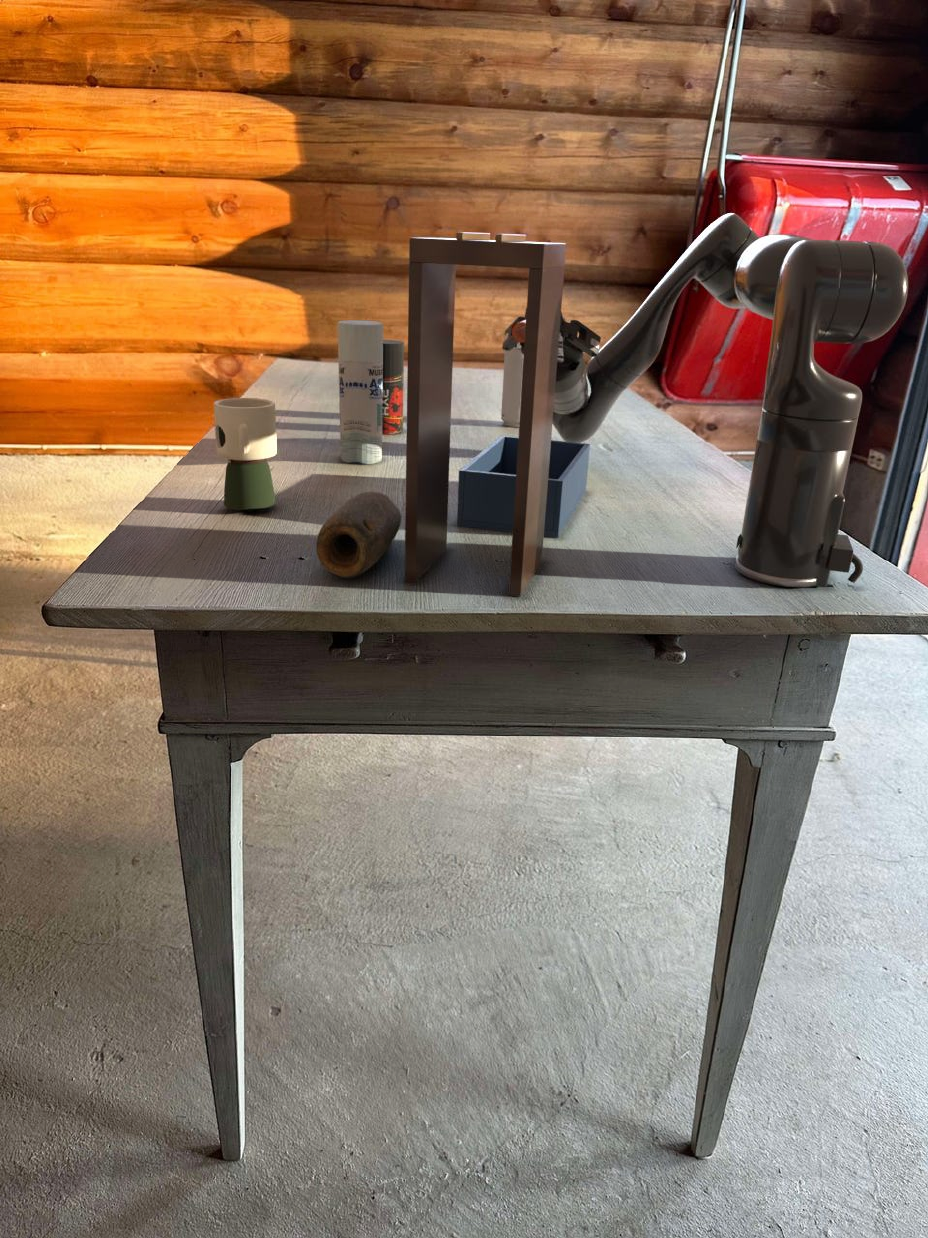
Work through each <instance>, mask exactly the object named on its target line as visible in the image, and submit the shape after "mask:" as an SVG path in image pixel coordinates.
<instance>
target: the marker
mask: <svg viewBox="0 0 928 1238" xmlns="http://www.w3.org/2000/svg"><path fill="white" fill-rule="evenodd" d="M525 329H526V320H524V321H522V322H519V323H517V324H516V325H515V326H514V327H513V329H512V335H513V338H514V339H515V340H516V341H517V342H520V343H523V342H525Z"/></svg>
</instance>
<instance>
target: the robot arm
mask: <svg viewBox="0 0 928 1238" xmlns="http://www.w3.org/2000/svg"><path fill="white" fill-rule="evenodd" d="M693 279H695V280H697V282H699V284H700V285H702V287H703V288H704V289H705V290H706V291H707V292H708V293H709V294H710V295H711V296H712V297H713V298H715V300H716V301H718V302H719V303H720V304H721V305H723V306H725V307H727V308H728V309H735V310H747V311H750V312H752V313H754V314H756V315H758V316H760V317H763V318H766V319H769V320H772V327H771V336H770V345H769V351H768V358H767V364H766V371H765V373H766V374H765V381H764V382H765V384H764V394H763V401H762V408H761V413H760V419H759V423H758V426H759V427H758V431H757V437H756V441H755V442H756V443H755V448H754V453H753V454H754V455H753V461H752V467H751V473H750V479H749V485H748V490H747V497H746V503H745V509H744V515H743V522H742V527H741V533H740V534H739V536H738V537H737V540H736V547H735V549H737V555H736V558H735V564H734V568H735V570H736V571H737V572H738V573H739V574H741V575H742V576H745V577H746V578H749V579H751V580H754V581H756V582H760V583H763V584H768V585H773V586H779V587H787V588H789V587H790V588H807V587H825V588H826V587H828V583H829V578H830V574H831V571H832V572H839V573H848V574H849V573H850V570H851V565H852V564H853V565H854V570H853V572H852V573H851V574H850V575H849V577H848V578H847V581H848V582H850V583H853V584H855V583H856V582H857V580H858V579H859V578H861V576H862V573H863V571H864V565H863V561H862V560H861V559H860V557H858V556H857V555H856V554H855V553H854V552H855V551H854V548H853V545H852V543H851V541H850V538H849V535H847V534H841V533H840V534H839V531H840V527H841V522H842V517H843V512H844V507H845V502H846V498H845V495H844V493H843V492H844V489H845V484H846V479H847V474H848V470H849V465H850V460H851V459H850V458H851V454H852V449H853V445H854V441H855V435H856V432H857V425H858V420H859V416H860V412H861V406H862V403H863V392H862V390H861V389H860V387H859V386H857V385H856V384H854V383H852V382H850V381H847V380H845V379H843V378H839V377H838V376H835V375H833V374H831V373H829V371H826V370H825V369H824V368H823V367H821V365H819V364H818V363H817V361H816V360H815V356H814V355H815V343H827V344H828V343H829V344H847V345H848V344H849V345H850V344H851V345H853V344H854V345H857V344H858V345H859V344H864V343H868V342H873V341H875V340H878V339H879V338H880V337H882V336H884V335H885V334H886V333H888V332H889V331H890V330H891V328H892V327H893V326H894V325H895V324H896V323H897V321H898V320H899V318H900V316H901V314H902V312H903V310H904V308H905V306H906V302H907V298H908V292H909V291H908V290H909V278H908V272H907V269H906V266H905V263H904V260H903V259H902V257H901V255H900V254H899V253H898V252H897V251H896V250H895V249H894V248H893V247H891V246H889V245H887V244H884V243H881V242H876V241H863V240H861V241H858V240H841V239H840V240H837V239H836V240H835V239H812V238H808V237H805V236H801V235H795V234H789V233H788V234H787V233H774V234H769V235H765V236H763V237H760V236H759V235H758V234H757V233H756V232H755V231H754V230H753V229H752V228H751V227H750V225H748V223H747V222H745V220H744V219H743V218H741V216H739V215H738V214H737V213H734V212H733V213H732V212H730V213H726V214H723V215H722V216H720V217H718V218H717V219H716V220H715V221H713V222H712V223H710V225H708V226H707V227H706V228H705V229H704V230H703V231H702V232H701V233H700V235H698V237H697V238H696V239H694V241H693V242H692V243H691V244H690V246H689V247H688V248H687V249H686V250H685V251H684V252H683V253H682V255H681V256H680V257H679V259H678V260H677V261H676V262H675V263H674V265H673V266H672V267H671V268H670V269H669V270H668V272H666V274H665V275H664V277H662V279H661V280H660V281H659V282H658V284H657V285H656V286H655V287H654V289H653V290H652V291H651V292H650V294H649V295H648V296H647V297H646V299H645V300H644V301H643V303H642V304H641V305H640V307H638V309H637V310H636V312H634V314H633V315H632V316H631V317H630V319H628V321H627V322H626V323H625V324H624V325H623V326H622V327H621V328H620V329H619V330H618V331H617V332H616V334H614V336H612V337H611V338H610V339H609V340H608V341H607V342H606V343H605V344H604V345H603V346H602V347H601V340H602V337H601V336H600V335H598V334H597V333H596V332H594V330H592V329H590V328H589V327H588V326H587V325H585V324H583V323H582V322H581V321H579V320H577V319H571V320H570V321H566V318H565V317H564V316H563V313H562V311H561V319H560V332H559V345H558V358H557V371H556V384H555V397H554V410H553V423H552V426H553V427H554V429H555V430H556V432H557V433H558V435H559V436H560V438H561V439H562V441H565V442H575V443H585V442H586V441H588V440H589V439H591V438H592V437H593V436H594V435H595V434H596V433H597V431H598V430H599V429H600V428H601V426H602V424H603V423H604V422H605V419H606V418H607V416H608V414H609V413H610V411H611V410H612V408H613V406H615V404H616V402H617V401H618V399H619V398H620V397H621V395H622V394H623V393H624V392H625V391H626V390H627V389H628V388H629V387H630V386H631V385H632V384H633V383H634V382H636V381H637V380H638V379H639V378H640V377H641V376H642V375H643V374H644V373H645V372H646V371H647V370H648V369H649V368H650V367H651V366H652V364H654V362H655V360H656V359H657V357H658V355H659V354H660V352H661V349H662V346H663V344H664V339H665V337H666V333H667V330H668V327H669V322H670V320H671V316H672V313H673V310H674V307H675V304H677V303H676V302H677V300H678V299H679V297H680V295H681V294H682V292H683V290H684V289H685V288H686V286H687V285H688V284H689V283H690V282H691V280H693ZM524 311H525V312H524V316H517V318H515V320H513V322H512V323H511V324H510V325H509V326H508V327H507V328H506V329H505V330H504V334H503V341H502V347H501V349H502V350H503V351H505V350H506V351H510V350H511V349H512V348H514V349H516V348H520V349H521V353H522V354H523V355H524V344H525V342H523V343H520V342H517V341H516V340H515V339H514V338H513V335H512V329H513V327H514V326H515V325H516V324H517V323H519V322H522V321H524V320H526V313H527V307H526V308H525V310H524ZM584 354H586V355H588V356H589V357H591V358H590V359H589V361H587V363H586V361H585V356H584ZM588 382H589V383H588ZM589 387H590V394H589Z"/></svg>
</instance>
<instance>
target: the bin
mask: <svg viewBox="0 0 928 1238" xmlns="http://www.w3.org/2000/svg"><path fill="white" fill-rule="evenodd" d="M518 440H519V436H513V435H512V436H511V435H510V436H509V435H500V436H499V437H498V438H497V439H494V441H493V442H492V443H490V444H489V445H488V446H487V447H486V448H485V449H483V450H482V451H480V453H478V454H477V455H476V456H475V457H473V458H472V459H471V460H470V461H468V462H467V463H466V464H465V465H464V466H462V467H461V468H460V469H459V470H458V484H457V485H458V487H457V509H456V510H457V515H456V526H457V527H463V528H464V527H465V528H473V529H482V530H489V531H498V532H499V531H500V532H507V533H513V519H514V503H515V487H516V471H517V455H518ZM590 449H591V444H590V443H585V442H582V443H575V442H565V441H564V440H555V439H554V440H553V439H551V449H550V462H549V474H548V487H547V500H546V513H545V526H544V537H548V538H555V539H556V538H557V539H558V538H559V537H560V535H561V534H562V532H563V530H564V529H565V527H566V525H567V523H568V522H569V521H570V519H571V517H572V516H573V514H574V512H575V511H576V509H577V507H578V506H579V504H580V502H581V501H582V499H583V497H584V496H585V495H586V492H587V482H588V470H589V459H590Z"/></svg>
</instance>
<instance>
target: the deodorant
mask: <svg viewBox="0 0 928 1238" xmlns="http://www.w3.org/2000/svg"><path fill="white" fill-rule="evenodd" d="M404 370H405V341H403V340H397V339H383V388H382V435H396V434H401V433H403V432H404V381H405V380H404V373H405V371H404Z"/></svg>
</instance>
